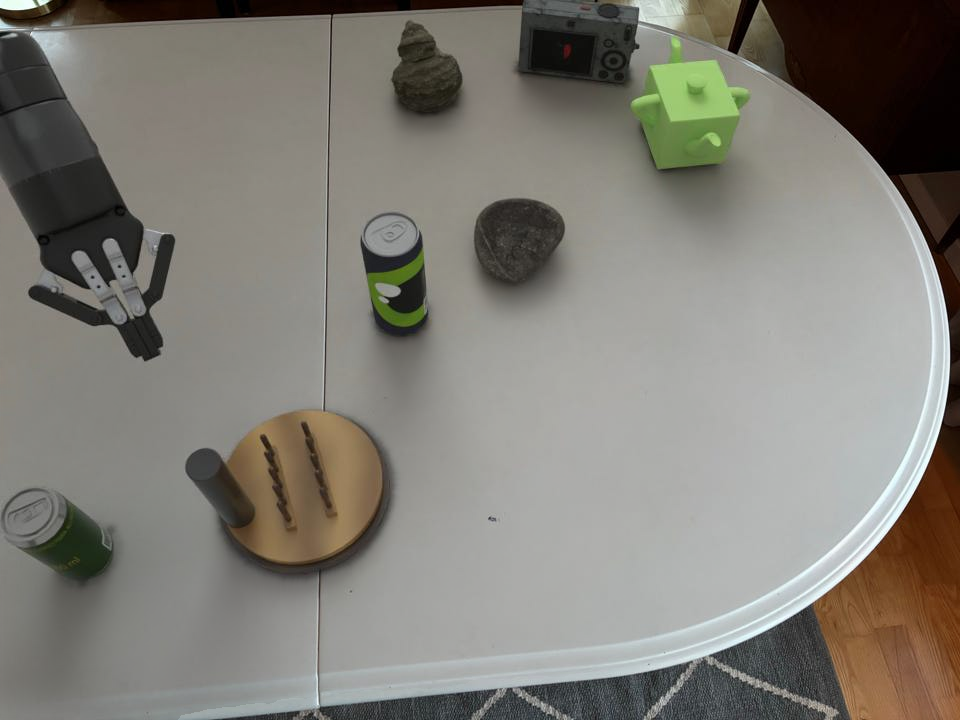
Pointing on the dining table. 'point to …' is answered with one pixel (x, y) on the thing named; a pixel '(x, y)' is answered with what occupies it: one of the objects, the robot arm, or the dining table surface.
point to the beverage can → (395, 272)
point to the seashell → (424, 71)
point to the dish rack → (294, 486)
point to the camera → (578, 39)
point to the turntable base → (337, 557)
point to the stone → (516, 237)
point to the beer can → (55, 532)
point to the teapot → (688, 111)
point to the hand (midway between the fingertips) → (153, 356)
